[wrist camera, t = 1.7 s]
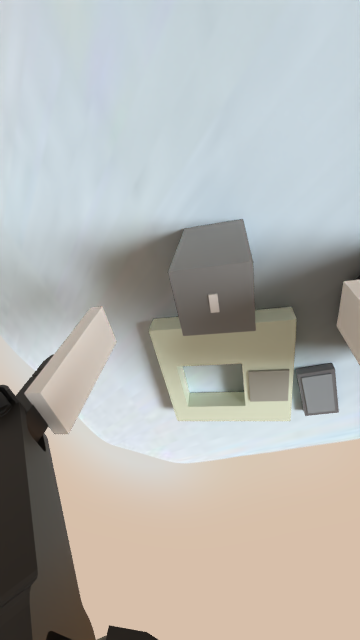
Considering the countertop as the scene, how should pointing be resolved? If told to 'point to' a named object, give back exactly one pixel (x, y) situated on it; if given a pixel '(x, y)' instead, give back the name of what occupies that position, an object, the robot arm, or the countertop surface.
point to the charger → (214, 279)
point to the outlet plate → (231, 348)
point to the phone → (318, 389)
